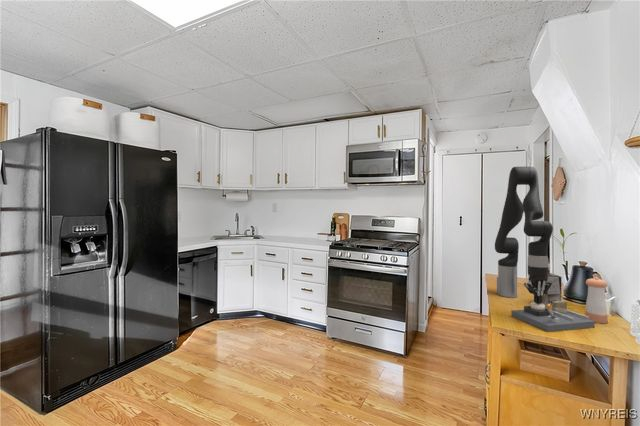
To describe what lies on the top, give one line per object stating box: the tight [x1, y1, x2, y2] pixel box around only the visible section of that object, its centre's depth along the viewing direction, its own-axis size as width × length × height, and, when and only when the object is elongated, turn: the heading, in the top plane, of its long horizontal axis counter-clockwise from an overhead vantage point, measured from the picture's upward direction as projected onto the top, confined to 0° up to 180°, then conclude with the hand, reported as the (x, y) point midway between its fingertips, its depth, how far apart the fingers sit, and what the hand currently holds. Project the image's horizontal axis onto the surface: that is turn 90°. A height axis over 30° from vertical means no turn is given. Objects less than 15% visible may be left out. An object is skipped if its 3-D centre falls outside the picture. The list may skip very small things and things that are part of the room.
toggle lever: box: [545, 304, 555, 319], centre depth 122 cm, size 2×2×6 cm
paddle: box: [552, 300, 568, 313], centre depth 132 cm, size 2×6×5 cm, turn 100°
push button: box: [530, 301, 546, 311], centre depth 132 cm, size 5×5×2 cm
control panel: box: [511, 305, 596, 333], centre depth 129 cm, size 18×23×4 cm
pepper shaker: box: [584, 276, 609, 324], centre depth 129 cm, size 7×7×19 cm
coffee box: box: [542, 272, 562, 308], centre depth 149 cm, size 9×6×16 cm
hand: (537, 303), depth 132 cm, fingers closed
